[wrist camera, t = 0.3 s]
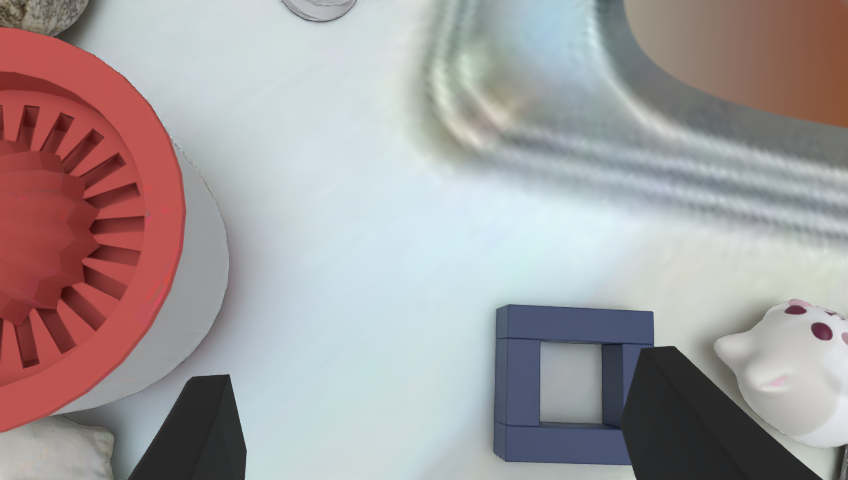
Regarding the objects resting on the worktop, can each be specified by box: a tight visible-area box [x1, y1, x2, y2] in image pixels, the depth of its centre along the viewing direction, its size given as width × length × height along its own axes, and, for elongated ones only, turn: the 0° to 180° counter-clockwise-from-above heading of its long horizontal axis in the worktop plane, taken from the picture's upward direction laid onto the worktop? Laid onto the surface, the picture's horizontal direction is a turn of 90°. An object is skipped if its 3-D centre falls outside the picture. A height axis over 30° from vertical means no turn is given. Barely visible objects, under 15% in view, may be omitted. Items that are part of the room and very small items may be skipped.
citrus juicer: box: [0, 27, 229, 433], centre depth 31 cm, size 16×17×20 cm
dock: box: [494, 304, 654, 465], centre depth 41 cm, size 9×9×4 cm
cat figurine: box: [714, 299, 848, 448], centre depth 39 cm, size 10×8×15 cm
